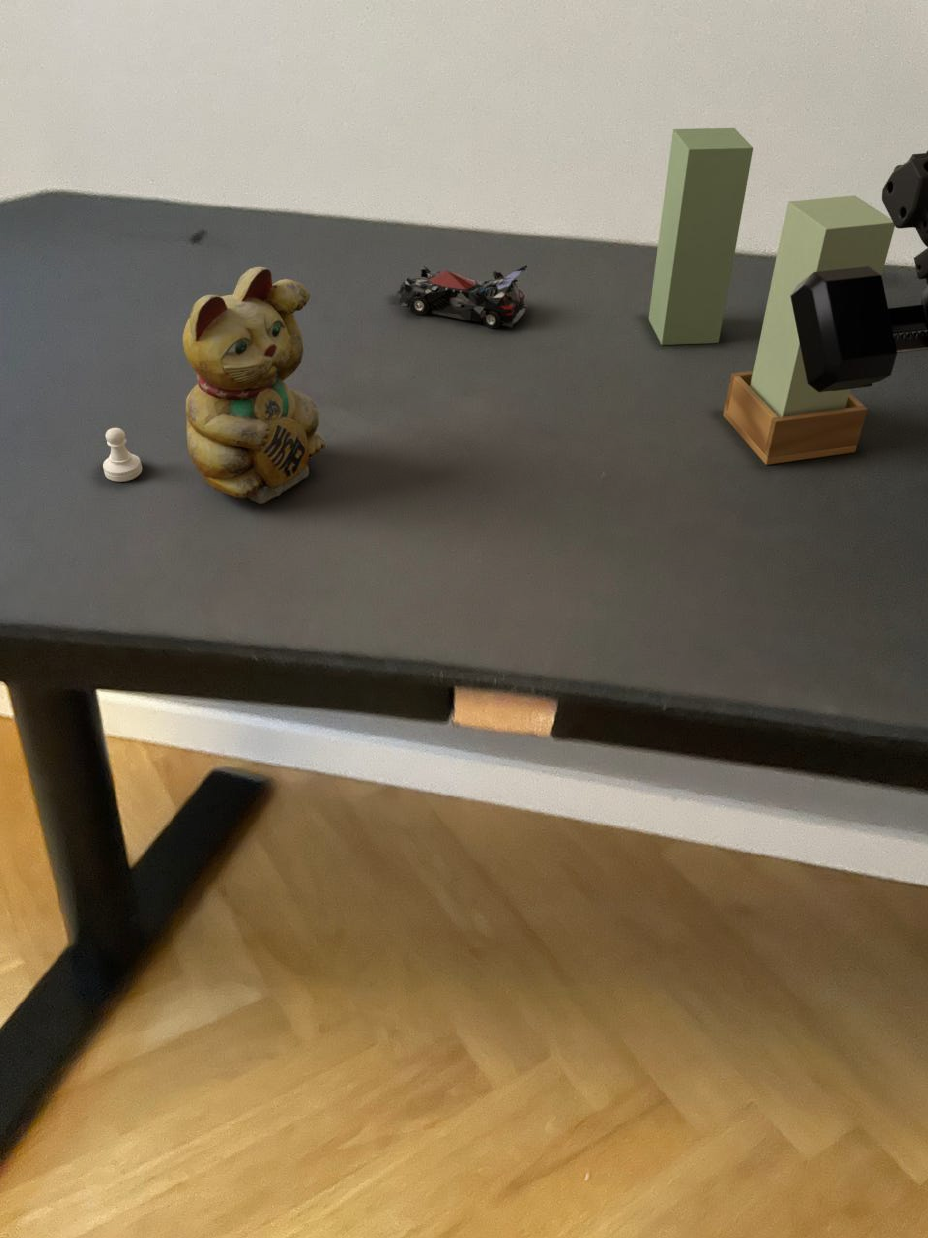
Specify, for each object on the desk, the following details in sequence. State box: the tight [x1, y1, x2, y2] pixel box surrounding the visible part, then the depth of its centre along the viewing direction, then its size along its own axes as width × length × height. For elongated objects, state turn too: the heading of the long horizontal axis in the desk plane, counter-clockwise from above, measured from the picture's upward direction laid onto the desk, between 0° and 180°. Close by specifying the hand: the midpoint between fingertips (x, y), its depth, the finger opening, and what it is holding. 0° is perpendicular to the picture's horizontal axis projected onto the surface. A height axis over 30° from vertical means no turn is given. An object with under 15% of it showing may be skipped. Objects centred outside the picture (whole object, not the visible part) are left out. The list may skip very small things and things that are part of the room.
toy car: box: [396, 264, 529, 329], centre depth 94 cm, size 6×12×4 cm, turn 68°
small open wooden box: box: [722, 370, 868, 466], centre depth 79 cm, size 7×7×4 cm
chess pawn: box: [102, 427, 143, 483], centre depth 74 cm, size 3×3×4 cm
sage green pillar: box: [750, 195, 896, 418], centre depth 74 cm, size 5×5×16 cm
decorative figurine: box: [181, 266, 326, 505], centre depth 70 cm, size 10×8×15 cm
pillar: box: [648, 127, 754, 346], centre depth 88 cm, size 5×5×16 cm
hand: (874, 363), depth 68 cm, fingers open, 9 cm apart
